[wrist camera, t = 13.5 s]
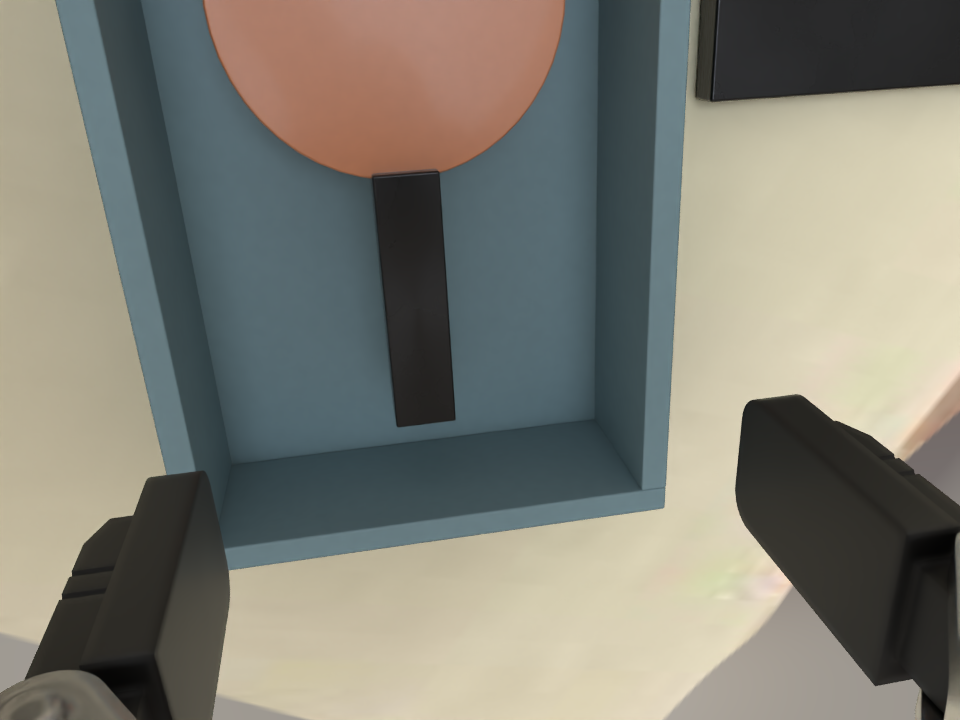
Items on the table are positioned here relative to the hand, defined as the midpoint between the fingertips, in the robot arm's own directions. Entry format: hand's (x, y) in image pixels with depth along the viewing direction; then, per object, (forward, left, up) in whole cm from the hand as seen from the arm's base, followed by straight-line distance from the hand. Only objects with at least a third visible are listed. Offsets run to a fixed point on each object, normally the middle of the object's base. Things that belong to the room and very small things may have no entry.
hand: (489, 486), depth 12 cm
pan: (-3, 0, -15) cm, 16 cm away
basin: (-3, 0, -16) cm, 16 cm away
